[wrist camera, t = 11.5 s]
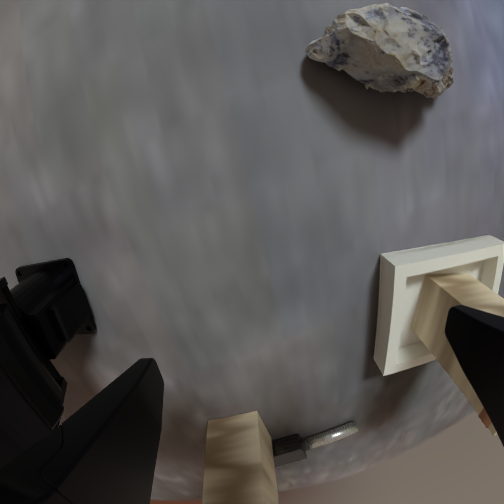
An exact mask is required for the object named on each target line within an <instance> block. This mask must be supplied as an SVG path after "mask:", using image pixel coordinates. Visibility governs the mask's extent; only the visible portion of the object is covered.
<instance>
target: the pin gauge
mask: <svg viewBox="0 0 504 504" xmlns="http://www.w3.org/2000/svg"><path fill="white" fill-rule="evenodd" d="M358 432H359V430H358V427H357V425H356V422H355V421H352V422H350V423H347V424H345V425H342V426H340V427H337V428H334V429H331V430H329V431H326V432H323V433H320V434H317V435H314V436H311V437H308V438H305V439H301V438H300V436H299V434H298V433H297V434H294V435H291V436H287V437H284V438H281V439H277V440H274V441H272V449H273V457H274V466H275V467H276V466H280V465H284V464H287V463H291V462H295V461H298V460H302V459H305V458H307V456H306V451H307V450H310V449H314V448H317V447H320V446H323V445H326V444H328V443H331V442H334V441H337V440H339V439H342V438H345V437H347V436H350V435H353V434H355V433H358Z"/></svg>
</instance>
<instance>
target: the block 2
mask: <svg viewBox="0 0 504 504" xmlns="http://www.w3.org/2000/svg"><path fill="white" fill-rule="evenodd" d="M459 304H461V305H465V306H468V307H471V308H475V309H478V310H482V311H485V312H488V313H492V314H495V315H498V316H502V317H504V299H503V298H502V297H501V296H499V295H498V294H496V293H495V292H494V291H492V290H491V289H489V288H488V287H487V286H485V285H484V284H482V283H481V282H480V281H478V280H477V279H475V278H474V277H472V276H471V275H469V274H468V273H453V274H425V277H424V282H423V286H422V290H421V294H420V298H419V302H418V305H417V309H416V313H415V316H414V320H413V323H412V326H411V329H412V330H413V331H414V332H415V334H416V335H417V336H418V337H419V338H420V340H421V341H422V342H423V343H424V344H425V346H426V347H427V348H428V349H429V350H430V352H431V353H432V354H433V355H434V357H435V358H436V359H437V360H438V362H439V363H440V364H441V365H442V367H443V368H444V369H445V371H446V372H447V373H448V374H449V376H450V377H451V378H452V380H453V381H454V382H455V383H456V385H457V386H458V387H459V389H460V390H461V391H462V393H463V394H464V395H465V397H466V398H467V399H468V401H469V402H470V403H471V405H472V406H473V408H474V409H475V410H476V412H477V413H478V414H479V418H480V419H481V421H482V422H483V423H484V425H485V426H486V428H488V429H489V430H490V431H491V433H492V434H493V435H495V434H497V432H496V430H495V428H494V426H493V424H492V422H491V420H490V418H489V417H488V415H487V413H486V411H485V409H484V407H483V405H482V404H481V402H480V400H479V398H478V396H477V395H476V393H475V391H474V389H473V388H472V386H471V384H470V383H469V381H468V379H467V377H466V376H465V374H464V372H463V370H462V368H461V366H460V364H459V362H458V360H457V358H456V356H455V354H454V352H453V350H452V348H451V346H450V344H449V342H448V340H447V338H446V336H445V325H446V320H447V315H448V310H449V309H450V308H451V307H452V306H456V305H459Z"/></svg>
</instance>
